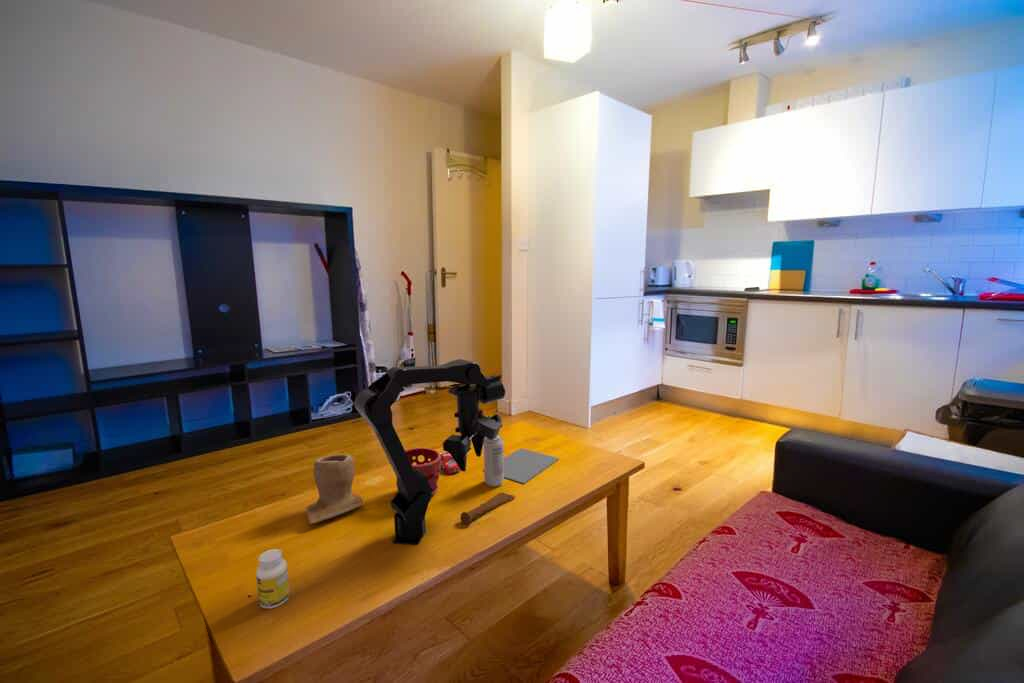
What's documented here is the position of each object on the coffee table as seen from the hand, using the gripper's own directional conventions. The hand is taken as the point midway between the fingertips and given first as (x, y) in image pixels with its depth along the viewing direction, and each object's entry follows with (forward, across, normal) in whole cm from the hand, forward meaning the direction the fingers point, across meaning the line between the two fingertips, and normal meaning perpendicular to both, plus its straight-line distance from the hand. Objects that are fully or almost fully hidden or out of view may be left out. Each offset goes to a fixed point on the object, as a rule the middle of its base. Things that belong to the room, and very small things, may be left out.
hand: (471, 463), depth 118 cm
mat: (+15, +32, -3) cm, 35 cm away
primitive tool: (+15, +3, -3) cm, 15 cm away
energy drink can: (+14, +17, +1) cm, 22 cm away
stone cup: (+13, -13, +36) cm, 41 cm away
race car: (+15, +22, +20) cm, 33 cm away
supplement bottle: (+12, -44, +23) cm, 51 cm away
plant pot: (+14, +3, +19) cm, 24 cm away
